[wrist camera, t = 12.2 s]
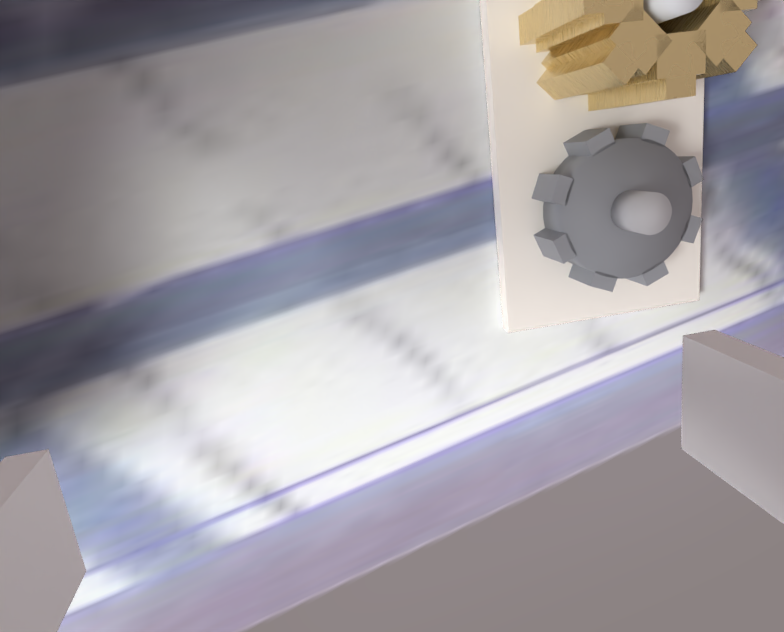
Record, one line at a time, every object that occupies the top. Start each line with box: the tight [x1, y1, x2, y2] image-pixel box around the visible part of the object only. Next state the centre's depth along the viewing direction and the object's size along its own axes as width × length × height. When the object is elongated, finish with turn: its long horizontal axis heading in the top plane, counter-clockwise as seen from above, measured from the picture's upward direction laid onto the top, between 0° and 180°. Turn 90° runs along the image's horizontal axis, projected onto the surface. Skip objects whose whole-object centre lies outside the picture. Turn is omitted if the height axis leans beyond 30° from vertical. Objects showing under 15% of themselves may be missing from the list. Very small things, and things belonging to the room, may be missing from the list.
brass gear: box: [518, 0, 760, 111], centre depth 32 cm, size 10×10×8 cm
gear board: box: [479, 0, 704, 333], centre depth 34 cm, size 14×26×9 cm, turn 7°
